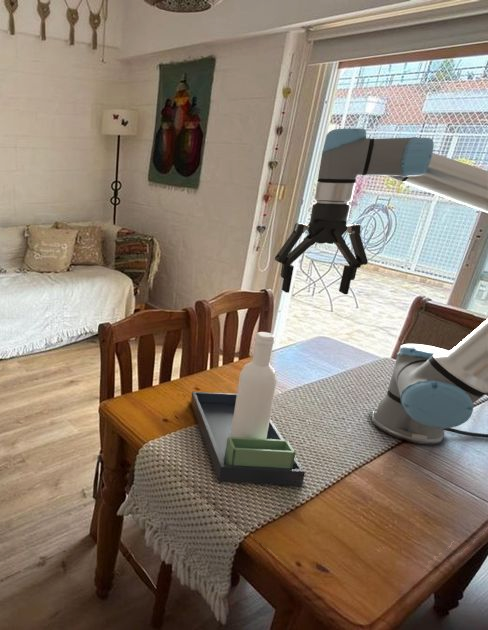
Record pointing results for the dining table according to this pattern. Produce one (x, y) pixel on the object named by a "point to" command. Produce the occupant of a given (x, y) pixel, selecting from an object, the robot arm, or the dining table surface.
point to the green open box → (259, 453)
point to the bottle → (255, 392)
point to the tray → (216, 428)
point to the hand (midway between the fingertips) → (314, 292)
